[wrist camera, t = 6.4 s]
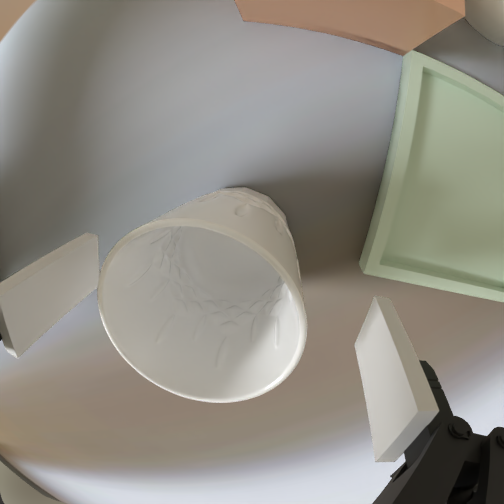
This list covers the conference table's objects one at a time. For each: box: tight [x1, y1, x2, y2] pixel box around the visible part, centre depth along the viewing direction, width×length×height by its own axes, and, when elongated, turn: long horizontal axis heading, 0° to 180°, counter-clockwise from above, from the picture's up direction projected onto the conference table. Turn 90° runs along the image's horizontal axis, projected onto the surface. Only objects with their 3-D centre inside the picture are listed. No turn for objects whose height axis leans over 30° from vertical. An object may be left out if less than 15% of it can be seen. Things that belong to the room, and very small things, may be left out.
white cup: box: [97, 187, 307, 403], centre depth 15 cm, size 8×8×10 cm
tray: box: [359, 50, 504, 302], centre depth 15 cm, size 14×14×2 cm
